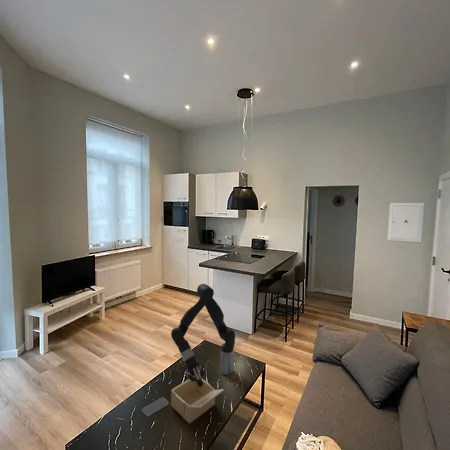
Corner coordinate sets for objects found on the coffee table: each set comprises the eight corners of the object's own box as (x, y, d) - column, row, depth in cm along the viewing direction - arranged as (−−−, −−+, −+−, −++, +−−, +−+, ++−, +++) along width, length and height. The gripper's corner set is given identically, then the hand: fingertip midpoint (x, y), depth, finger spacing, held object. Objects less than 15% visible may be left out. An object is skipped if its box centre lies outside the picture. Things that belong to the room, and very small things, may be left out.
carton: (196, 388, 171) (196, 374, 170) (215, 403, 158) (215, 388, 158) (169, 405, 156) (169, 390, 155) (188, 424, 143) (188, 407, 142)
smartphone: (141, 409, 152) (163, 396, 163) (141, 410, 152) (163, 397, 163) (146, 416, 147) (169, 403, 157) (146, 418, 147) (169, 404, 157)
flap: (224, 389, 151) (224, 390, 151) (215, 389, 156) (215, 390, 156) (200, 406, 137) (200, 408, 137) (191, 406, 143) (191, 408, 142)
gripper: (183, 360, 151) (196, 390, 144) (199, 351, 161) (212, 379, 153) (177, 364, 155) (190, 394, 148) (194, 355, 165) (206, 382, 157)
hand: (201, 386), depth 151 cm, fingers closed
